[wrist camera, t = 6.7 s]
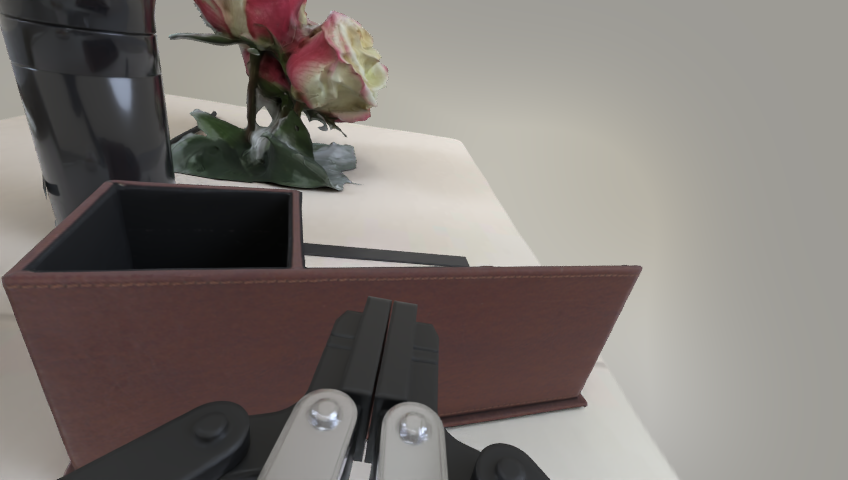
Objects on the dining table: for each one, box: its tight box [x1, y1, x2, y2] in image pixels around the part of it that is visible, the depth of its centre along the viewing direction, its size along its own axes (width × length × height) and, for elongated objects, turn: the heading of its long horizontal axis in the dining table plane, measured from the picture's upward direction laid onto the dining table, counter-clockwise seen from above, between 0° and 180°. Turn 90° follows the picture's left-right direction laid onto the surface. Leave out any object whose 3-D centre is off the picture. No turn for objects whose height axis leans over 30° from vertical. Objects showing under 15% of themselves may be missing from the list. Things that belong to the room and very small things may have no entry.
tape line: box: [303, 243, 469, 267], centre depth 41 cm, size 2×22×1 cm, turn 97°
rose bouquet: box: [169, 0, 388, 190], centre depth 56 cm, size 26×29×30 cm
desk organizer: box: [2, 180, 642, 476], centre depth 24 cm, size 10×29×11 cm, turn 106°
